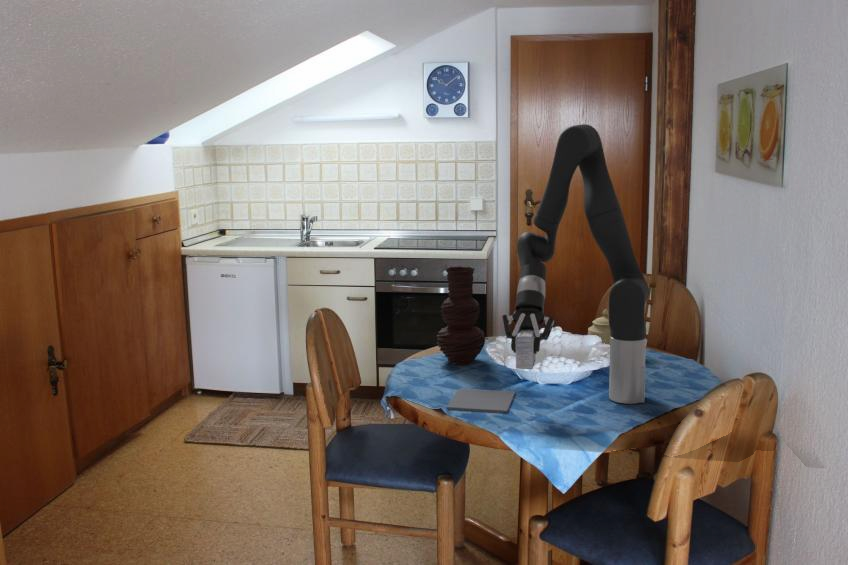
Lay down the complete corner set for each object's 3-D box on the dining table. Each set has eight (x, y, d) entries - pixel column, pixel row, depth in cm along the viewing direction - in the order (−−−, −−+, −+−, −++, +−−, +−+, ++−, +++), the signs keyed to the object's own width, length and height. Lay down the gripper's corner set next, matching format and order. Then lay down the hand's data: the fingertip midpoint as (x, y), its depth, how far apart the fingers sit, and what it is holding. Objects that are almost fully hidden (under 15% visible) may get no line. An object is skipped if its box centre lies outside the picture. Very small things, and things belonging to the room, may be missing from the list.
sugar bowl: (627, 348, 270) (628, 304, 267) (639, 357, 259) (640, 311, 257) (583, 350, 269) (584, 306, 266) (593, 359, 258) (594, 313, 255)
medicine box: (533, 369, 208) (533, 336, 206) (515, 369, 209) (515, 336, 207) (535, 361, 215) (535, 329, 214) (518, 360, 216) (518, 328, 215)
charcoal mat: (515, 393, 226) (515, 391, 226) (506, 412, 211) (506, 410, 211) (458, 390, 230) (458, 388, 230) (446, 409, 215) (446, 407, 215)
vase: (461, 371, 248) (460, 274, 243) (427, 361, 259) (425, 268, 254) (495, 361, 258) (495, 268, 253) (461, 352, 270) (460, 262, 264)
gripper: (502, 287, 217) (495, 343, 208) (556, 289, 214) (551, 345, 204) (505, 303, 223) (498, 357, 214) (558, 304, 220) (553, 360, 211)
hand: (524, 351), depth 209 cm, fingers closed on medicine box, 4 cm apart
